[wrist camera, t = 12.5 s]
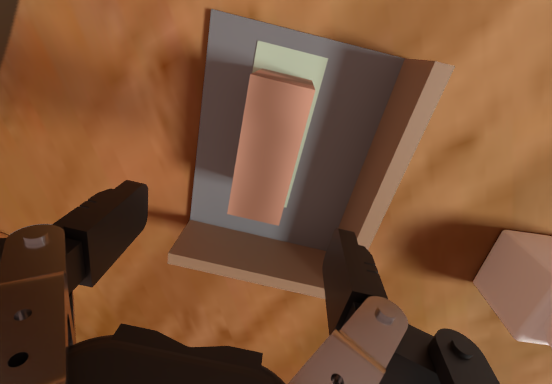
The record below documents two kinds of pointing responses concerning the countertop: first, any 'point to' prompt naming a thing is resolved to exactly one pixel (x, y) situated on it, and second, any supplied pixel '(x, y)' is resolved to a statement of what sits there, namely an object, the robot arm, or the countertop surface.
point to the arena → (303, 150)
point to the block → (269, 144)
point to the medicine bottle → (520, 284)
